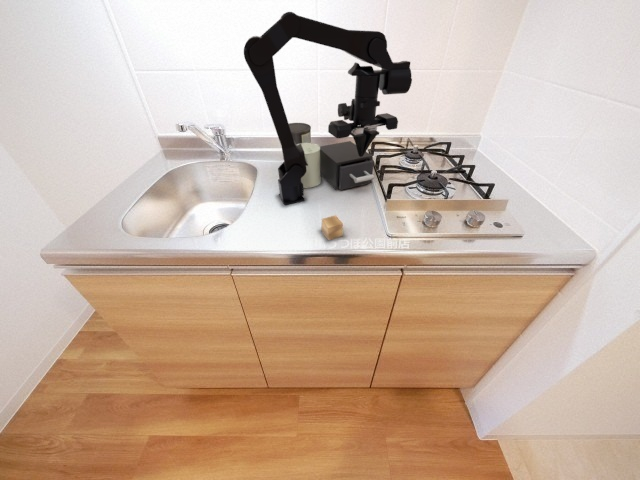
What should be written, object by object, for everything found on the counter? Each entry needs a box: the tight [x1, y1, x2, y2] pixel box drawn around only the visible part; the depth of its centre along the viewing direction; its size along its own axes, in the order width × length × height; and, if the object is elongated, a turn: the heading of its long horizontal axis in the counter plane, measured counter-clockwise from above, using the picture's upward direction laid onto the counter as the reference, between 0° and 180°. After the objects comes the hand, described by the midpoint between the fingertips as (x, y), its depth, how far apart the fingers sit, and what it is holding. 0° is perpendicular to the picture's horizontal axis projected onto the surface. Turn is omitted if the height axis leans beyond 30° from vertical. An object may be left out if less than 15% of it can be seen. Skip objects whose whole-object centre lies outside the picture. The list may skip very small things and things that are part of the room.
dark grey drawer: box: [338, 159, 375, 191], centre depth 82 cm, size 18×11×7 cm, turn 23°
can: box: [297, 142, 322, 189], centre depth 82 cm, size 9×9×12 cm
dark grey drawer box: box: [319, 140, 373, 190], centre depth 85 cm, size 15×13×9 cm
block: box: [321, 214, 344, 241], centre depth 63 cm, size 4×4×4 cm
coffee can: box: [288, 122, 312, 145], centre depth 91 cm, size 10×10×14 cm
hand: (360, 156), depth 73 cm, fingers closed
